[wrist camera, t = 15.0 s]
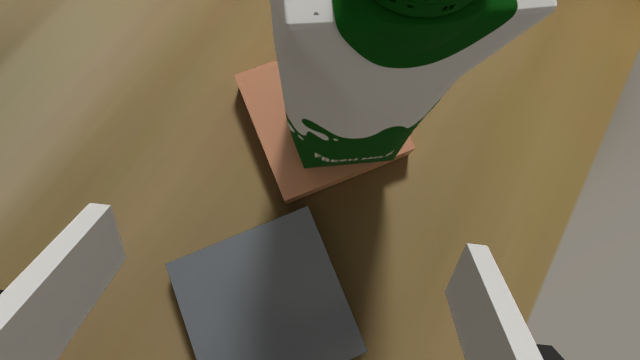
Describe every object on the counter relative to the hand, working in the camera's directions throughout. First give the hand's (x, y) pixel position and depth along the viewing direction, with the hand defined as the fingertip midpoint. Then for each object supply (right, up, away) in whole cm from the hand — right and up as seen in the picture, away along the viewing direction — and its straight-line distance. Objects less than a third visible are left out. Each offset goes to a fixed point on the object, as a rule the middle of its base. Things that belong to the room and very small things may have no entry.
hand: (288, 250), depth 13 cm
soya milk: (+3, +7, +15) cm, 17 cm away
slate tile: (-3, -7, +13) cm, 15 cm away
